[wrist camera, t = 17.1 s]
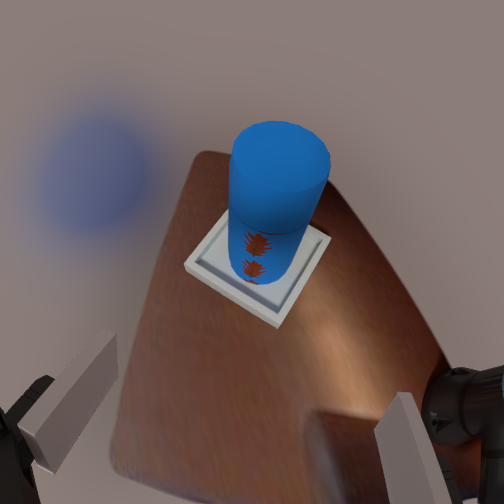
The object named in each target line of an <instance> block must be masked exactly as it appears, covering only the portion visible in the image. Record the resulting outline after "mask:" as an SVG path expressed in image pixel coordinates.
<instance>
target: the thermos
mask: <svg viewBox="0 0 504 504" xmlns="http://www.w3.org/2000/svg"><path fill="white" fill-rule="evenodd" d="M330 167H331V166H330V154H329V152H328V150H327V148H326V146H325V145H324V143H323V142H322V141H321V140H320V139H319V138H318V137H317V136H316V135H315V134H314V133H312V132H311V131H309V130H307V129H305V128H303V127H301V126H299V125H295V124H292V123H288V122H283V121H266V122H262V123H257V124H254V125H252V126H250V127H248V128H247V129H245V130H243V131H242V132H241V133H240V134H239V136H238V137H237V138H236V139H235V141H234V145H233V149H232V154H231V159H230V167H229V208H228V253H229V259H230V263H231V267H232V269H233V270H234V271H235V273H236V274H237V276H239V277H240V278H242V279H243V280H244V281H246V282H249V283H252V284H256V285H265V284H270V283H273V282H275V281H277V280H279V279H280V278H281V277H282V276H283V275H284V274H285V273H286V272H287V270H288V268H289V267H290V265H291V263H292V261H293V259H294V256H295V254H296V252H297V250H298V247H299V245H300V243H301V241H302V238H303V236H304V234H305V231H306V229H307V227H308V224H309V222H310V220H311V217H312V215H313V213H314V210H315V208H316V206H317V203H318V201H319V199H320V196H321V194H322V191H323V189H324V187H325V184H326V182H327V179H328V177H329V171H330Z"/></svg>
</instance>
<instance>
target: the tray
mask: <svg viewBox="0 0 504 504" xmlns="http://www.w3.org/2000/svg"><path fill="white" fill-rule="evenodd" d="M330 240H331V237H329V236H327V235H325V234H324V233H322V232H320V231H319V230H317V229H315V228H313V227H312V226H310V225H308V227H307V229H306V231H305V234H304V236H303V238H302V241H301V243H300V245H299V247H298V250H297V252H296V254H295V256H294V259H293V261H292V263H291V265H290V267H289V268H288V270H287V272H286V273H285V274H284V275H283V276H282V277H281V278H280V279H279V280H277V281H275V282H273V283H270V284H265V285H256V284H252V283H249V282H246V281H244V280H243V279H242V278H240V277H239V276H237V274H236V273H235V271H234V270H233V269H232V267H231V263H230V259H229V253H228V209H227V211H226V212H225V213H224V214H223V216H222V217H221V218H220V219H219V220H218V222H217V223H216V224H215V225H214V227H213V228H212V229H211V230H210V232H209V233H208V234H207V235H206V237H205V238H204V239H203V240H202V241H201V243H200V244H199V245H198V246H197V248H196V249H195V250H194V252H193V253H192V254H191V255H190V257H189V258H188V259H187V260H186V262H185V263H184V266H185V269H186V271H187V272H188V273H190V274H191V275H193V276H194V277H196V278H197V279H199V280H200V281H202V282H204V283H205V284H207V285H208V286H210V287H211V288H213V289H214V290H216V291H218V292H219V293H221V294H222V295H224V296H225V297H227V298H228V299H230V300H232V301H233V302H235V303H236V304H238V305H240V306H241V307H243V308H244V309H246V310H248V311H249V312H251V313H252V314H254V315H256V316H257V317H259V318H260V319H262V320H264V321H265V322H267V323H269V324H270V325H272V326H274V327H275V328H277V329H278V328H279V326H280V325H281V323H282V322H283V320H284V318H285V317H286V315H287V313H288V312H289V310H290V309H291V307H292V305H293V304H294V302H295V300H296V299H297V297H298V295H299V294H300V292H301V290H302V289H303V287H304V285H305V283H306V282H307V280H308V278H309V277H310V275H311V273H312V271H313V270H314V268H315V266H316V265H317V263H318V261H319V259H320V258H321V256H322V254H323V252H324V251H325V249H326V247H327V245H328V243H329V242H330Z"/></svg>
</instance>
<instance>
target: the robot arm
mask: <svg viewBox="0 0 504 504" xmlns="http://www.w3.org/2000/svg"><path fill="white" fill-rule="evenodd" d="M116 341H117V338H116V333H115V332H113V331H109V330H107V329H104V328H101V329H100V330H99V332H98V333H97V334H96V335H95V336H94V337H93V338H92V339H91V340H90V341H89V342H88V344H87V345H86V346H85V347H84V348H83V349H82V350H81V351H80V352H79V353H78V354H77V356H76V357H75V358H74V359H73V360H72V361H71V362H70V363H69V364H68V366H67V367H66V368H65V369H64V370H63V371H62V372H61V374H60V375H59V376H58V377H57V378H56V379H54V378H52V377H50V376H48V375H45V376H43V377H41V378H39V379H37V380H36V381H35V382H34V383H33V384H32V385H31V386H30V387H29V389H27V390H26V392H25V393H24V394H23V396H21V397H20V398H19V399H18V400H17V402H16V403H15V404H14V405H13V406H12V407H11V408H10V409H9V410H8V412H7V413H6V414H5V413H4V411H3V410H2V409H1V407H0V504H41V503H40V499H39V496H38V491H37V487H36V483H35V479H34V475H33V470H32V467H31V463H32V462H33V460H34V459H35V461H36V463H37V464H38V466H39V467H41V468H42V469H44V470H46V471H48V472H49V473H51V474H53V475H55V474H56V472H57V470H58V469H59V467H60V466H61V464H62V462H63V461H64V459H65V458H66V456H67V454H68V453H69V451H70V450H71V448H72V447H73V445H74V443H75V442H76V440H77V439H78V437H79V436H80V434H81V432H82V431H83V429H84V427H85V426H86V425H87V423H88V422H89V420H90V418H91V417H92V416H93V414H94V412H95V411H96V409H97V408H98V406H99V405H100V403H101V402H102V400H103V399H104V397H105V396H106V394H107V393H108V391H109V390H110V388H111V387H112V385H113V384H114V382H115V381H116V379H117V378H118V364H117V342H116ZM374 432H375V436H376V440H377V444H378V449H379V453H380V457H381V462H382V466H383V471H384V476H385V480H386V485H387V490H388V495H389V500H390V504H463V502H462V499H461V497H460V494H459V491H458V488H457V485H456V482H455V479H453V478H454V477H453V474H452V472H451V468H450V466H449V463H448V461H447V460H446V459H445V457H444V456H443V455H442V454H441V453H439V454H435V452H434V449H433V447H432V444H431V442H430V440H431V441H433V442H434V443H436V444H438V445H441V446H457V445H460V444H463V443H465V442H468V441H470V440H472V439H474V438H481V467H480V484H479V493H478V497H477V499H478V501H477V502H478V504H504V365H502V366H499V367H495V368H491V369H487V370H483V371H477V370H473V369H469V368H464V367H458V368H453V369H449V370H446V371H444V372H442V373H441V374H439V375H438V376H437V377H436V378H435V379H434V380H433V381H432V383H431V384H430V386H429V388H428V389H427V392H426V394H425V397H424V400H423V405H422V419H421V416H420V414H419V411H418V409H417V406H416V404H415V401H414V399H413V397H412V394H411V393H407V392H397V394H396V396H395V397H394V399H393V400H392V402H391V404H390V405H389V407H388V409H387V410H386V412H385V413H384V415H383V417H382V418H381V420H380V421H379V423H378V424H377V426H376V427H375V429H374ZM429 438H430V439H429Z"/></svg>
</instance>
